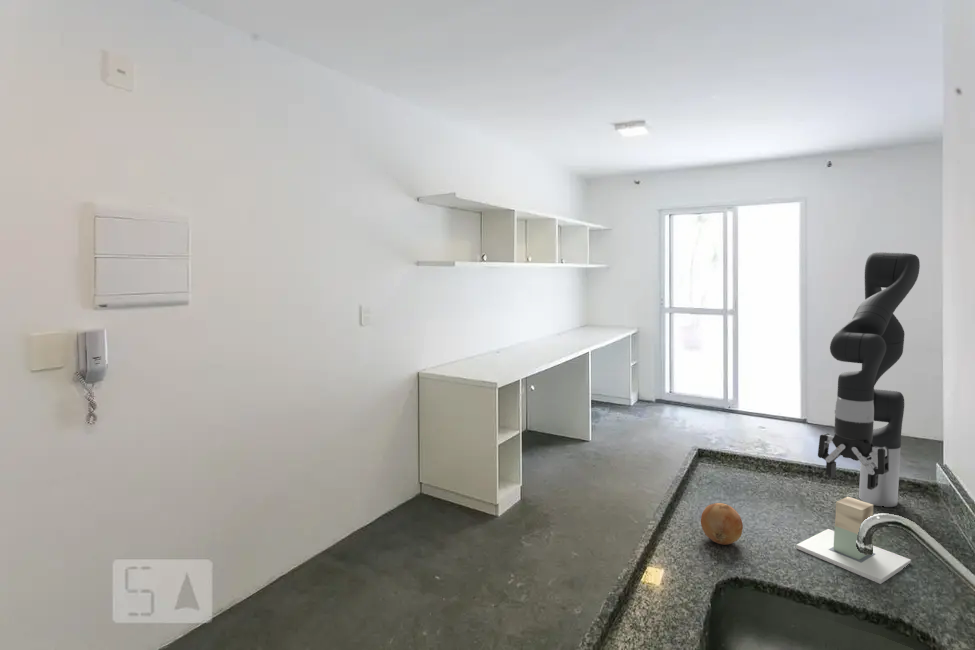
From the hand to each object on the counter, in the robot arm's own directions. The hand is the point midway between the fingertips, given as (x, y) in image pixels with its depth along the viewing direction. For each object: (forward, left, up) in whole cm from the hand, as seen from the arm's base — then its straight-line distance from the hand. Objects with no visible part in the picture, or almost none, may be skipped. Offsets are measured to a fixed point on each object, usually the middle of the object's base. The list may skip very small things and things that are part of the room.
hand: (850, 482), depth 127 cm
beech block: (+1, +2, -10) cm, 10 cm away
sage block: (+1, +1, -16) cm, 16 cm away
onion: (+21, -20, -18) cm, 34 cm away
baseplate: (+1, +1, -17) cm, 18 cm away
